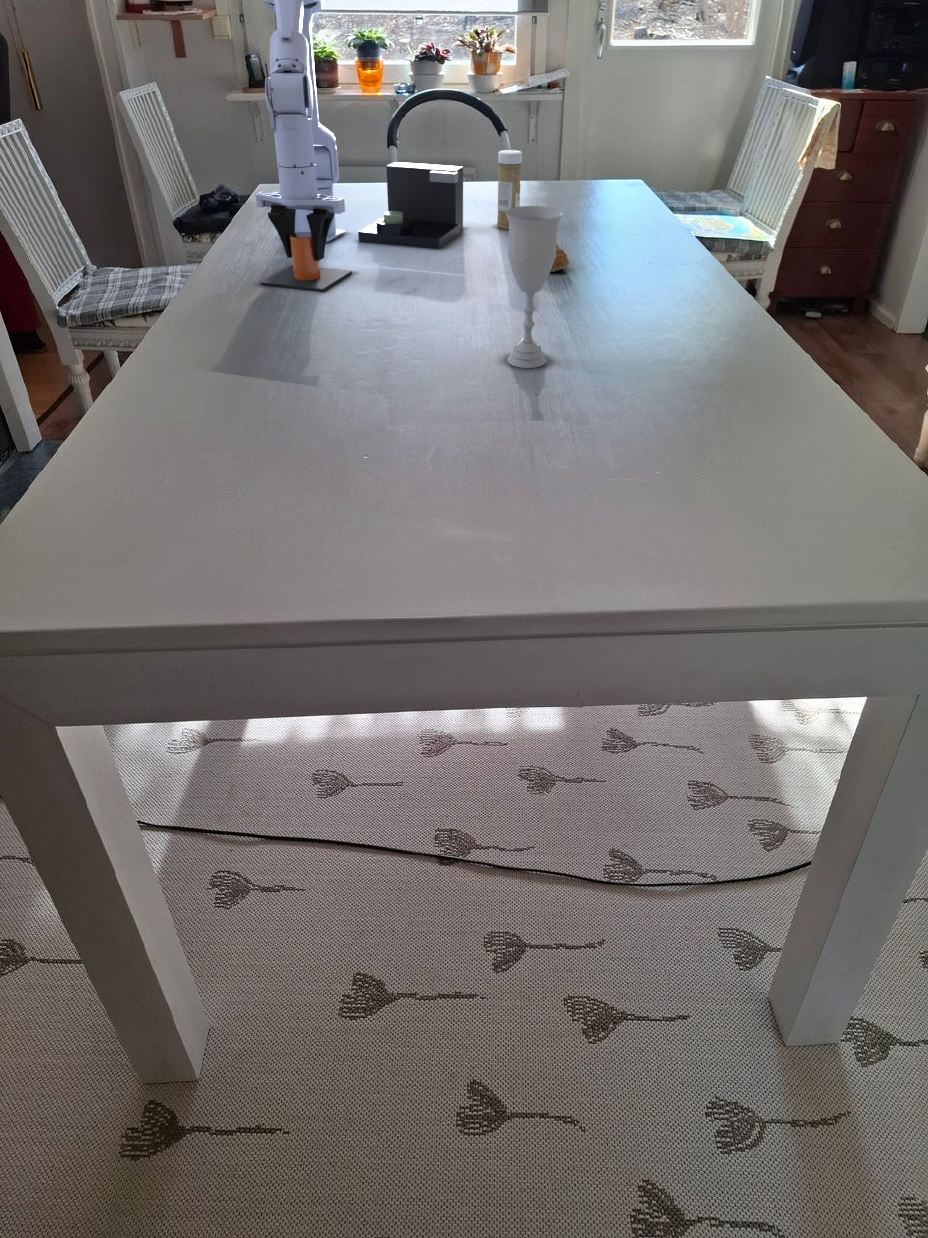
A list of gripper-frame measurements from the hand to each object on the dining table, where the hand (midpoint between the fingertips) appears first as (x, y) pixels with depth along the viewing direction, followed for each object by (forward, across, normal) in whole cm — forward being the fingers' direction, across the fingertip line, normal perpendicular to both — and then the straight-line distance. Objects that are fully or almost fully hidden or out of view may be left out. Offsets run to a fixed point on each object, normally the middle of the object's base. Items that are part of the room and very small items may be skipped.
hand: (305, 257), depth 141 cm
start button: (0, +4, +28) cm, 28 cm away
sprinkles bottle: (+3, +21, +46) cm, 51 cm away
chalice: (+4, +44, -24) cm, 50 cm away
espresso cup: (+3, 0, 0) cm, 3 cm away
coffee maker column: (+3, +6, +39) cm, 39 cm away
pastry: (+3, +35, +21) cm, 41 cm away
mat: (+3, 0, 0) cm, 3 cm away
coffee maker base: (+3, +6, +31) cm, 32 cm away
